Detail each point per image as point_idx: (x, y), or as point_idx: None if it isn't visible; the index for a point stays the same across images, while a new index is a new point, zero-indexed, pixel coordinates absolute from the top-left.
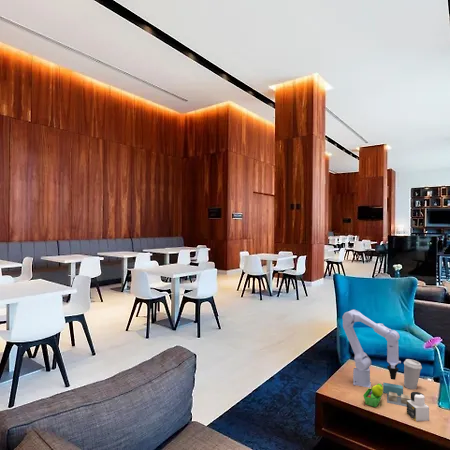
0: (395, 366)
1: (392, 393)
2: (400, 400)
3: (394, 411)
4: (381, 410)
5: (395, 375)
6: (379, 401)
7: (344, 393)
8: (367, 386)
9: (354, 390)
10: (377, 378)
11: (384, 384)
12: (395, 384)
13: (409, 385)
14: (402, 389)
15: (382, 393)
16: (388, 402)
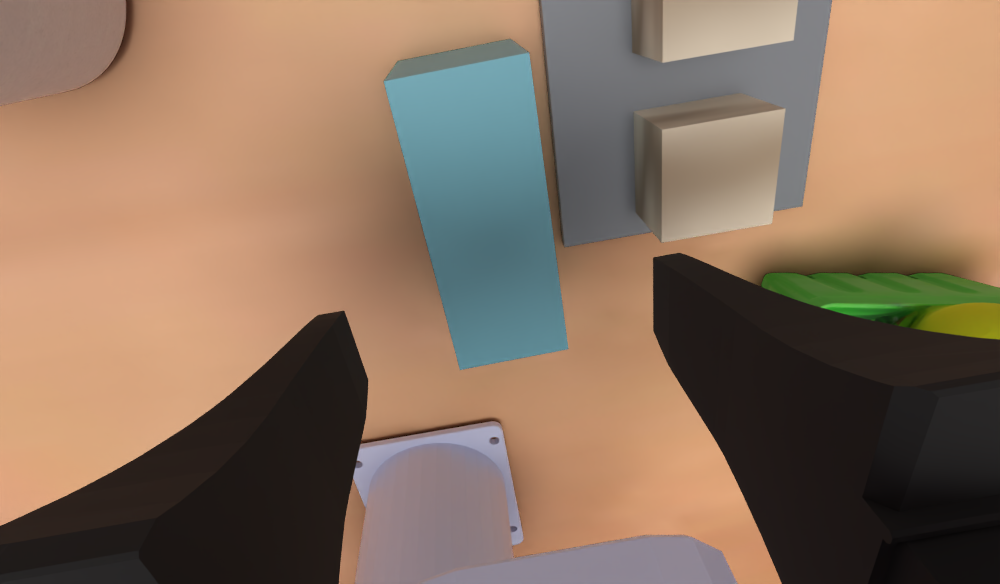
0: (272, 457)
1: (702, 189)
2: None
3: (979, 83)
4: (981, 217)
5: (762, 298)
6: (843, 279)
7: (729, 532)
8: (490, 449)
9: (628, 499)
10: (147, 424)
11: (529, 342)
12: (419, 208)
13: None
14: (528, 63)
15: (849, 302)
16: (792, 189)
